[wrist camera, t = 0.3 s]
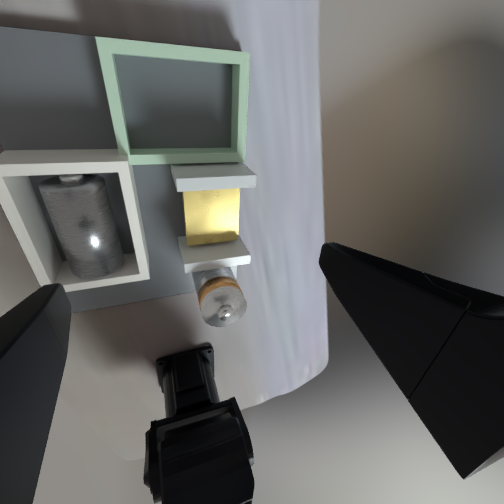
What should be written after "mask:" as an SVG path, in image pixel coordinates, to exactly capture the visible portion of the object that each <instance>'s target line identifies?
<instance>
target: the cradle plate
mask: <svg viewBox="0 0 504 504" xmlns="http://www.w3.org/2000/svg"><path fill="white" fill-rule="evenodd" d="M239 198H240V188H234V189H218V190H201V191H185V192H182V202H183V214H184V226H185V237H186V242H187V246H191V245H199V244H207V243H215V242H223V241H231V240H238V223H239Z"/></svg>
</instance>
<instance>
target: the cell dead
mask: <svg viewBox="0 0 504 504" xmlns="http://www.w3.org/2000/svg"><path fill="white" fill-rule="evenodd" d="M38 187H39V190H40V192H41V195H42V198H43V200H44V203H45V205H46V208H47V210H48V213H49V216H50V218H51V221H52V223H53V226H54V228H55V231H56V233H57V236H58V239H59V241H60V244H61V246H62V249H63V251H64V254H65V257H66V259H67V262H68V264H69V267H70V269H71V272H72V274H73V275H75V276H77V277H80V278H87V279H90V278H98V277H103V276H106V275H109V274H111V273H113V272H115V271H116V270H118V269H119V268H120V267H121V266H122V265H123V263H124V256H123V252H122V248H121V244H120V240H119V236H118V232H117V228H116V224H115V220H114V215H113V211H112V207H111V203H110V199H109V195H108V191H107V187H106V183H105V179H104V178H103V177H101V176H99V175H95V174H60V175H58V176H56V177H52V178H49V179H47V180H44V181H42V182H41V183H40V184H39V185H38Z"/></svg>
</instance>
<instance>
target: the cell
mask: <svg viewBox="0 0 504 504" xmlns="http://www.w3.org/2000/svg"><path fill="white" fill-rule="evenodd" d="M191 273H192V277H193V281H194V285H195V289H196V292H197V296H198V301H199V305H200V309H201V312H202V316H203V319H204V321H205V322H206V323H207V324H209V325H211V326H216V327H221V326H227V325H230V324H232V323H234V322H236V321H237V320H238V319H240V318H241V317H242V316H243V314H244V313H245V311H246V307H247V303H246V300H245V298H244V296H243V293H242V291H241V289H240V287H239V284H238V283H237V281H236V278H235V276H234V274H233V272H232V270H231V268H230V267H223V268H217V269H211V270H204V271H198V272H191Z"/></svg>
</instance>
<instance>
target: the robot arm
mask: <svg viewBox="0 0 504 504" xmlns="http://www.w3.org/2000/svg"><path fill="white" fill-rule="evenodd" d="M319 265H320V268H321V270H322V271H323V273H324V275H325V277H326V279H327V281H328V282H329V284H330V286H331V288H332V290H333V292H334V293H335V295H336V297H337V298H338V299H339V301H340V303H341V304H342V306H343V307H344V308H345V310H346V311H347V313H348V314H349V316H350V317H351V318H352V320H353V321H354V323H355V324H356V326H357V327H358V329H359V330H360V332H361V333H362V335H363V336H364V337H365V339H366V340H367V342H368V343H369V345H370V346H371V347H372V349H373V350H374V352H375V353H376V355H377V356H378V358H379V359H380V360H381V362H382V363H383V365H384V366H385V368H386V369H387V371H388V372H389V374H390V375H391V377H392V378H393V379H394V381H395V382H396V384H397V385H398V387H399V388H400V390H401V391H402V392H403V394H404V395H405V397H406V398H407V399H408V401H409V403H410V404H411V406H412V407H413V409H414V410H415V412H416V413H417V414H418V416H419V417H420V419H421V420H422V422H423V423H424V425H425V426H426V428H427V429H428V430H429V432H430V433H431V434H432V436H433V438H434V439H435V441H436V442H437V443H438V445H439V446H440V448H441V449H442V451H443V452H444V454H445V455H446V456H447V458H448V459H449V461H450V462H451V464H452V465H453V467H454V468H455V470H456V471H457V472H458V473H459V475H460V476H461V477H462V478H463V479H466V478H468V477H470V476H472V475H473V474H475V473H477V472H478V471H480V470H482V469H484V468H485V467H487V466H489V465H491V464H492V463H494V462H496V461H497V460H499V459H501V458H503V457H504V296H500V295H497V294H494V293H490V292H487V291H483V290H480V289H476V288H472V287H469V286H466V285H462V284H459V283H456V282H452V281H449V280H446V279H443V278H440V277H437V276H434V275H431V274H428V273H425V272H424V273H423V272H422V271H419V270H416V269H412V268H410V267H406V266H403V265H401V264H398V263H395V262H392V261H389V260H386V259H383V258H380V257H376V256H374V255H371V254H368V253H365V252H362V251H359V250H356V249H353V248H350V247H347V246H344V245H340V244H338V243H335V242H329V243H324V244H323V245H322V249H321V253H320V258H319ZM70 320H71V304H70V301H69V299H68V296H67V294H66V292H65V289H64V287H63V285H62V284H60V283H54V284H47V285H43V286H42V287H41V288H39V289H38V290H36V291H35V292H34V293H32V294H31V295H30V296H28V297H27V298H26V299H24V300H23V301H22V302H20V303H19V304H18V305H16V306H15V307H14V308H12V309H11V310H10V311H8V312H7V313H6V314H4V315H3V316H2V317H0V504H32V503H33V499H34V495H35V490H36V486H37V482H38V478H39V474H40V469H41V465H42V461H43V456H44V452H45V448H46V444H47V440H48V435H49V431H50V427H51V423H52V418H53V414H54V410H55V406H56V401H57V397H58V393H59V388H60V384H61V380H62V376H63V371H64V367H65V363H66V358H67V351H68V341H69V331H70ZM156 366H157V371H158V375H159V380H160V384H161V389H162V392H163V393H164V398H165V411H166V418H164V419H161V420H158V421H157V420H154V421H151V428H150V430H148V431H147V432H146V433H145V435H146V454H145V466H144V484H145V485H146V486H148V487H149V488H150V491H151V494H153V500H154V503H158V502H160V501H161V500H162V504H252V498H253V491H254V478H253V474H252V469H251V466H252V465H253V464H254V457H253V449H252V444H251V439H250V436H249V432H248V429H247V427H246V424H245V422H244V419H243V417H242V414H241V411H240V409H239V406H238V404H237V401H236V399H235V397H232V398H230V399H229V400H225V401H222V402H220V400H219V396H218V392H217V388H216V384H215V380H214V350H213V347H212V346H208V347H203V348H199V349H195V350H191V351H187V352H183V353H179V354H175V355H171V356H167V357H162V358H159V359H157V360H156Z"/></svg>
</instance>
